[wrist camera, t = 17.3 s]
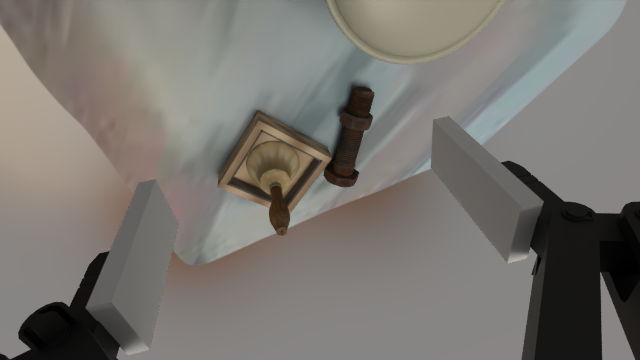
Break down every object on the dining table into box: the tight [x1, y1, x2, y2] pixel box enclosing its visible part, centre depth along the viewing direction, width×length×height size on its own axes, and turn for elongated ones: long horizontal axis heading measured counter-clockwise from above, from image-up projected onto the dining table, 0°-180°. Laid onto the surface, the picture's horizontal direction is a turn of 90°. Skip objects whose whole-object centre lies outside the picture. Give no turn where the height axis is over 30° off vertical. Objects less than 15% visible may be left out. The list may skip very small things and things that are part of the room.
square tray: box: [218, 110, 332, 213], centre depth 55 cm, size 12×12×4 cm
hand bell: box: [246, 141, 300, 235], centre depth 49 cm, size 8×8×16 cm
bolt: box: [324, 87, 374, 187], centre depth 54 cm, size 6×5×15 cm
